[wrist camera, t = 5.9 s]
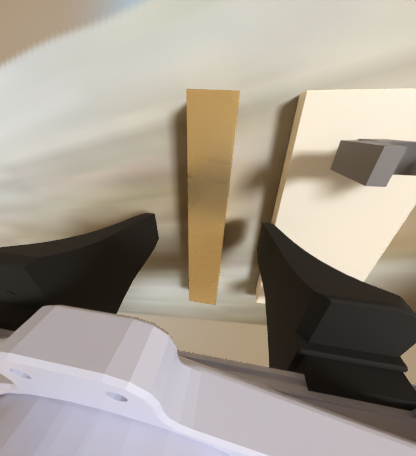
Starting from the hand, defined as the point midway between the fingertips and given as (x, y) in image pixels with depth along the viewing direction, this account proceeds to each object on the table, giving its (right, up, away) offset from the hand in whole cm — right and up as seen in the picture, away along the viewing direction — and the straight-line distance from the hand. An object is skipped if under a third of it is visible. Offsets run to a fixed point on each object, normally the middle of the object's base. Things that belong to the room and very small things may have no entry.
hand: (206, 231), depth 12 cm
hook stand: (+8, 0, +1) cm, 8 cm away
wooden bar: (0, +1, +2) cm, 2 cm away
